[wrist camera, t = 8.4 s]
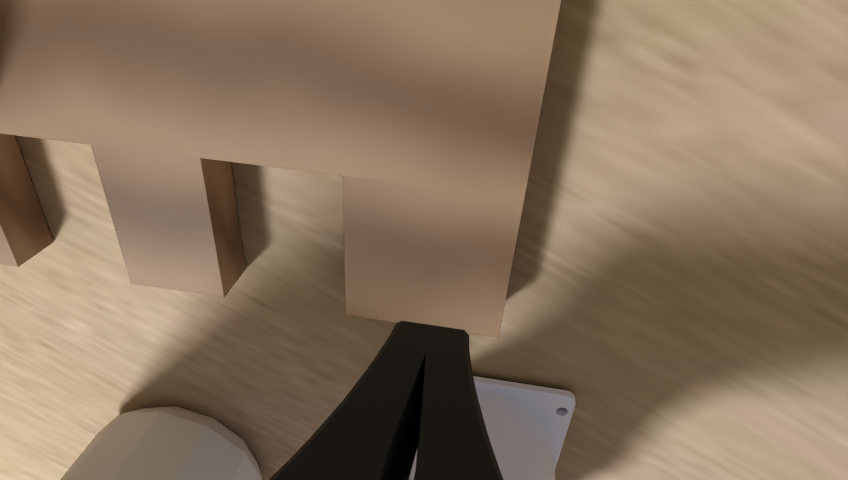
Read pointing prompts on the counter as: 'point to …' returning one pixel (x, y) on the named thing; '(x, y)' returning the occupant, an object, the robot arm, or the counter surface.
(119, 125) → the deck
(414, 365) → the robot arm
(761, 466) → the counter surface
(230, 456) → the jar
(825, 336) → the counter surface
